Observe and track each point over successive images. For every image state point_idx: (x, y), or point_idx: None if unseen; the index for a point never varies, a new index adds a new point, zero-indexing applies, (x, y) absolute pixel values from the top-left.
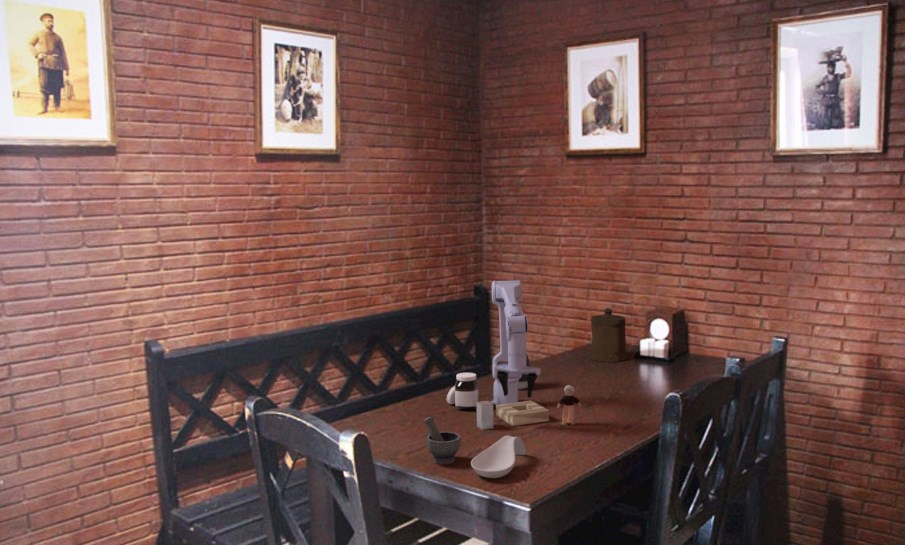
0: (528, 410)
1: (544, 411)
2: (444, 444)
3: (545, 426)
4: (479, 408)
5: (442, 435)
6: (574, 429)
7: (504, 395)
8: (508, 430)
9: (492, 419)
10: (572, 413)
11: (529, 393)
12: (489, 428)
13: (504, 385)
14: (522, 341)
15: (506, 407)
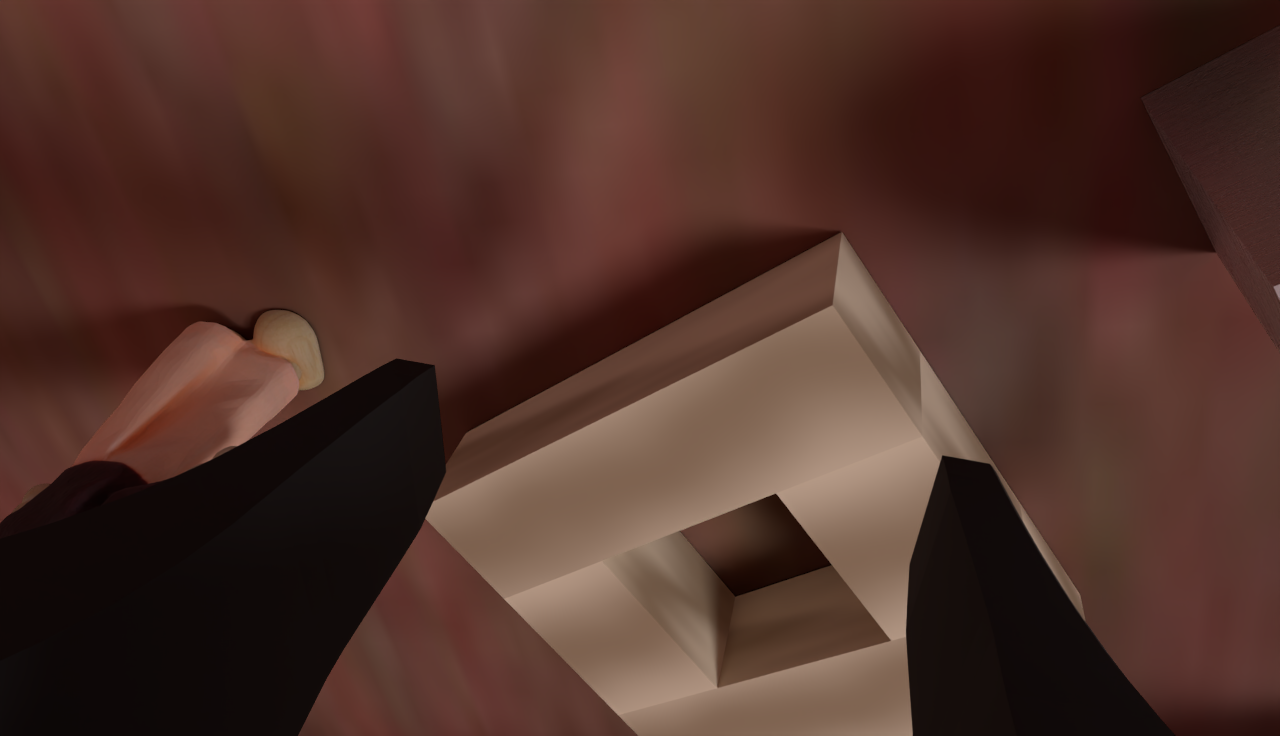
0: (645, 505)
1: (459, 486)
2: None
3: (446, 254)
4: None
5: None
6: (131, 184)
7: (987, 465)
8: (887, 21)
9: (1192, 141)
10: (127, 394)
11: (339, 393)
12: (1216, 60)
13: (1007, 645)
14: None
15: None
